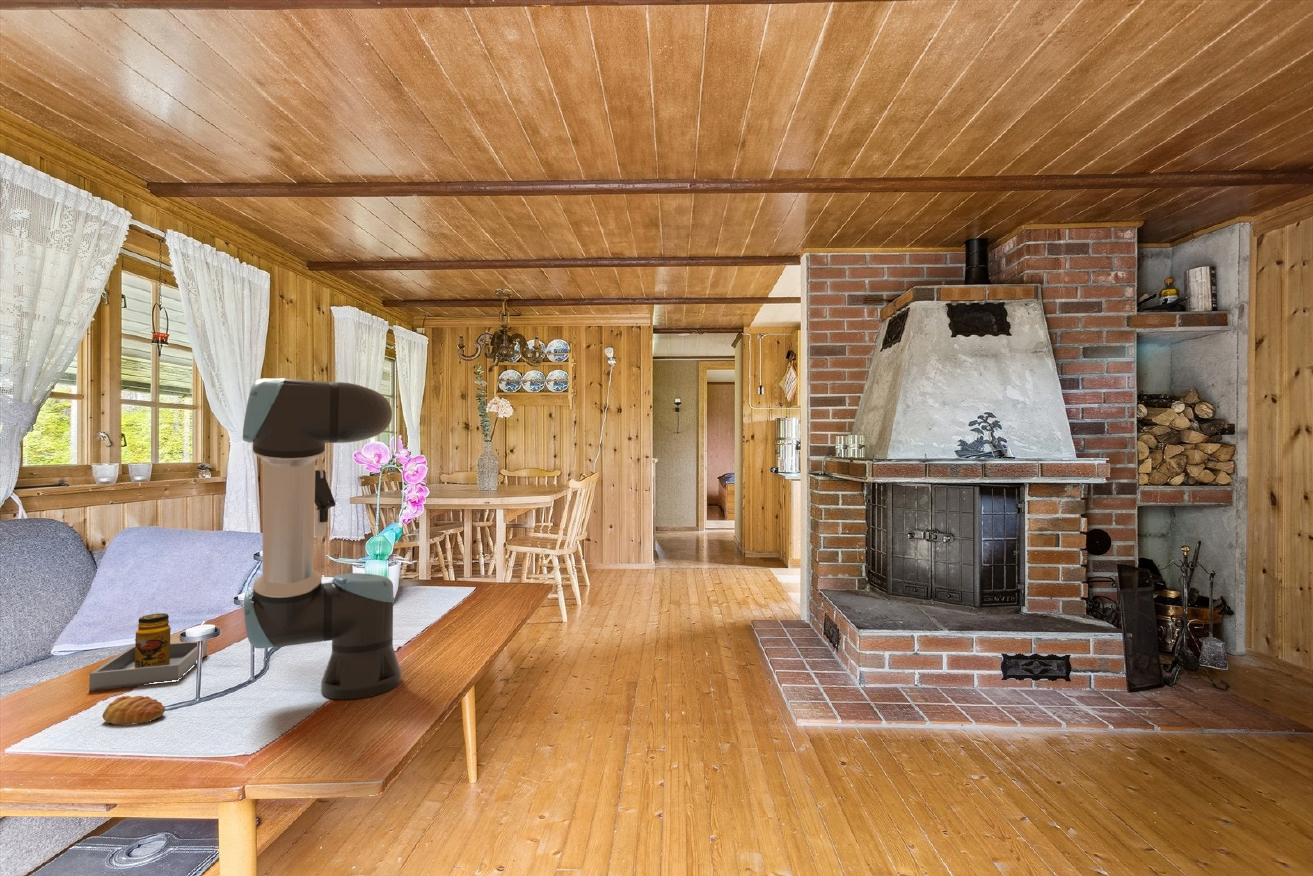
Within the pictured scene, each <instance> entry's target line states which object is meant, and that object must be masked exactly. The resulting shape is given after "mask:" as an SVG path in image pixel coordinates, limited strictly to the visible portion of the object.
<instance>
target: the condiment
mask: <svg viewBox="0 0 1313 876" xmlns="http://www.w3.org/2000/svg"><path fill="white" fill-rule="evenodd" d="M169 618H170V616H169V614H168V613H164V612H163V613H160V612H159V613H151V614H145V615H143V616H140V617H139V618H138V625H137V630H136V631H135V639H134V641H135V646H134V647H135V667H132V668H142V667H152V666H162V665H173V664H171V663H170V643H171V631H172V629H171V626H170V624H169V623H170V621H169ZM128 669H131V668H128Z"/></svg>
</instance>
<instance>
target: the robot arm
mask: <svg viewBox="0 0 1313 876" xmlns="http://www.w3.org/2000/svg"><path fill="white" fill-rule="evenodd" d="M248 395H249V396H248V400H247V403H246V409H245V413H244V421H243V429H242V440H243V441H244V442H247V443H249V444H251V443H252V453H253V454H254V455H256V457H258V458H259V459H261V460H262V574H261V575H260V576H258V577H257V578H256V579H255V581H254V582H253V585H252V588H251V589H248V590H246V592H244V593H245V594H244V597H243V612H244V616H243V618H244V625H245V626H244V627H245V631H246V637H247V640H248V642H249V644H250V645H251V646H252V647H253V648H255V649H271V648H274V649H279V648H280V649H281V647H282V648H283V647H288V646H289V647H290V646H297V645H306V644H312V643H320V642H321V643H322V642H327V641H329V642H330V641H331V654H330V656H329V660H328V663H327V665H326V668H325V670H324V674H323V676H322V679H321V683H320V684H321V689H320V691H321V692H320V693H321V694H322V695H323V696H324V697H326V698H328V699H334V700H354V699H355V700H356V699H364V698H365V699H366V698H369V697H373V696H378V695H381V694H384V693H386V692H389V691H391V690H393V689H395V688H396V687H397V686H399V685H400V683H401V681H402V670H401V666H400V664H399V661H398V657H397V655H396V651H395V649H394V645H393V643H394V642H393V641H394V638H393V637H394V602H395V597H394V583H393V581H392V580H391V579H390V578H388V577H386V576H384V575H380V574H372V573H361V572H358V573H357V572H349V573H339V574H336V575H334V577H333V579H332V582H328V583H327V582H326V583H323V581H322V580H323V579H322V576H321V574H320V573H319V572H317V571H316V570H314V556H315V555H314V551H315V550H314V548H315V547H314V545H315V543H314V542H315V537H321V536H326V535H327V532H326V531H327V527H326V526H327V522H328V520H329V509H331V508H333V507H335V506H336V501H335V499H334V496H333V493H332V491H331V489H330V485H329V482H328V480H327V476H326V475H327V474H326V471H325V470H324V469H317V470H316V467H317V465H318V464H317V462H318V459H319V457H321V456H322V455H323V454H324V453H325V451H326V444H328V443H329V444H337V443H338V444H342V443H343V444H346V443H347V444H348V443H354V442H359V441H364V440H369V439H371V438H374V437H377V436H379V435H380V434H382V433H383V432H385V431H386V429H387V428H388V427H389V426H390V424H391V422H392V419H393V409H392V405H391V403H390V402H389V400H388V399H387V398H386V397H385V396H384V395H383V394H382V393H380V392H378V391H376V390H374V389H371V388H369V387H366V386H362V385H359V384H354V383H349V382H340V381H339V382H336V381H324V380H323V381H322V380H309V379H307V380H305V379H295V378H294V379H293V378H285V377H281V378H260V379H257V380H255V381H254V382H253V383H252V385H251V388H250V391H249V394H248ZM315 505H316V506H315ZM315 507H317V508H315Z"/></svg>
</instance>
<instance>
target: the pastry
mask: <svg viewBox="0 0 1313 876" xmlns="http://www.w3.org/2000/svg"><path fill="white" fill-rule="evenodd" d="M165 711H166V707H165V706H164V705H163V704H162V702H159V701H158V700H157V699H154V698H151V697H150V696H144V695H136V696H130V695H122V696H119V697H117V698H115V699H114V700H113V701H112V702H110V703H109V704H108V705H107V706H106V708H105V710H104V711H103V713H102V719H103V720H104V721H105V722H106V723H107V724H108V723H109V724H113V725H115V724H121V725H124V724H131V725H133V724H132V723H141V724H143V722H145V723H149V722H148V721H150V720H153V721H154V720H156V719H158V718H160V717H162V716H164V713H165ZM150 722H151V721H150Z"/></svg>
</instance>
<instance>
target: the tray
mask: <svg viewBox="0 0 1313 876" xmlns="http://www.w3.org/2000/svg"><path fill="white" fill-rule="evenodd" d="M203 641H204V642H203V654H204V657H205V656H206V654H207V655H208V640H207V641H205V640H203ZM190 642H191V641H184V642H172V643H171V642H170V663H171V664H173V665H162V666H152V667H142V668H132V667H135V646H129V648H127V649H126V650H124V651H122V652H121V653H120V654H118V655H116V656H114V657H113V658H112V659H110V660H109V661H107V662H104V664H102V665H101V666H99V667H97V669H95V670H92V671H91V672H90V673H89V681H88V682H89V688H88V691H89V692H95V691H96V692H97V691H104V690H115V689H123V688H122V687H126V688H131V687H132V688H133V686H135V687H139V686H138V685H144V684H149V683H154V682H164V681H172V680H178V679H179V678H181V677H182V676H183V674H184V673H186V672H187V671H188V670H189V669H190V668H191V667H192V666H193V665H195V667H196V666H197V665H196V660H197V643H190ZM206 657H207V656H206ZM206 657H205V658H206ZM128 668H131V669H128ZM144 686H145V685H144Z"/></svg>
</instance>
